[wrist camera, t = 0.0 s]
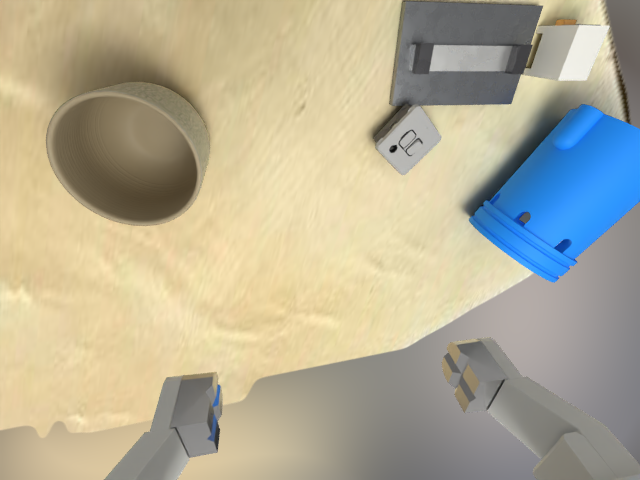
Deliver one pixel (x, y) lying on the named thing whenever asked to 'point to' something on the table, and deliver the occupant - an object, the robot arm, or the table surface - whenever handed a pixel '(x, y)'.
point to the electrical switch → (407, 138)
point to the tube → (565, 192)
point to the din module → (567, 50)
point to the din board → (461, 52)
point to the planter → (130, 152)
